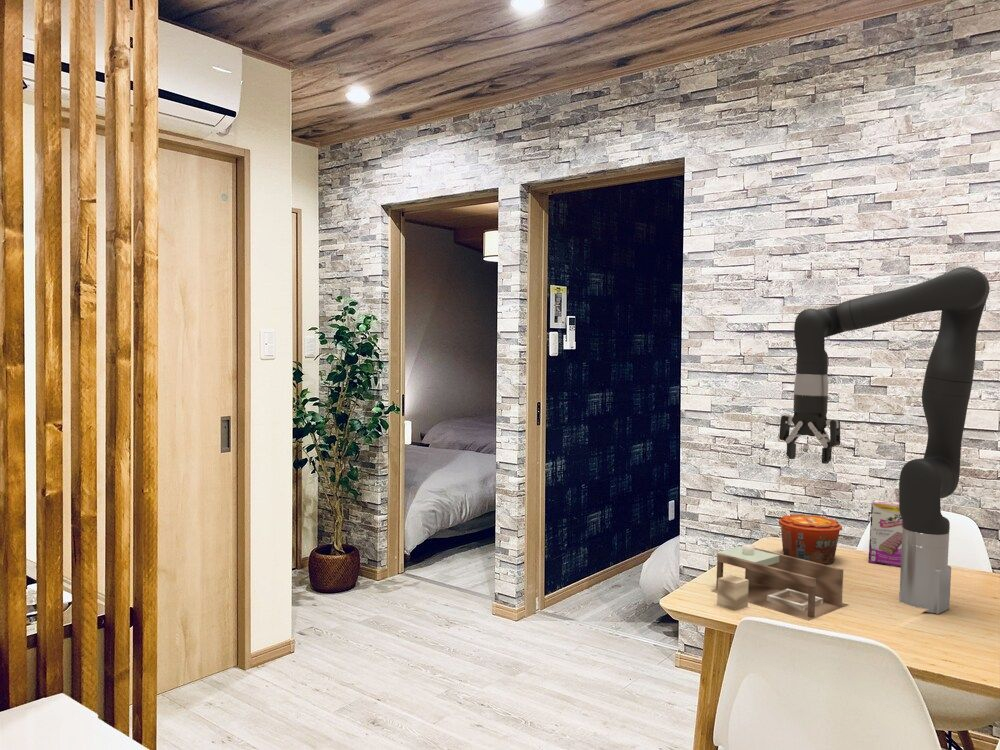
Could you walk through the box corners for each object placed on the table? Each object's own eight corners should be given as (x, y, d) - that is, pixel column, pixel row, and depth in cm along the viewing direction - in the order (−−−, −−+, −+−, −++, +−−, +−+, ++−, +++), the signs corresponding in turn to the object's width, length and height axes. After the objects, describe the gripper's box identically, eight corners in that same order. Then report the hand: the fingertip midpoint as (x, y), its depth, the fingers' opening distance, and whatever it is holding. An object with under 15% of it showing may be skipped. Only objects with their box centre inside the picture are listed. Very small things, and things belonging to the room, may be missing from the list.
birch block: (747, 607, 172) (748, 579, 172) (735, 611, 169) (736, 583, 169) (729, 601, 176) (730, 574, 175) (716, 605, 173) (717, 578, 173)
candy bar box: (867, 563, 213) (870, 502, 213) (870, 558, 218) (872, 499, 217) (915, 569, 208) (917, 507, 207) (916, 565, 212) (918, 504, 211)
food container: (853, 566, 210) (855, 525, 210) (799, 568, 206) (801, 527, 206) (816, 550, 226) (817, 512, 225) (765, 552, 222) (767, 514, 221)
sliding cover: (779, 562, 184) (779, 546, 184) (754, 569, 178) (755, 553, 177) (741, 552, 192) (742, 537, 192) (716, 559, 185) (717, 543, 185)
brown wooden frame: (848, 609, 175) (850, 568, 175) (808, 625, 164) (810, 581, 164) (752, 582, 193) (753, 544, 193) (710, 595, 183) (711, 555, 182)
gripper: (847, 394, 186) (844, 463, 187) (791, 391, 197) (789, 456, 198) (831, 395, 182) (828, 466, 182) (775, 391, 192) (772, 458, 193)
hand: (808, 461), depth 190 cm, fingers open, 8 cm apart
